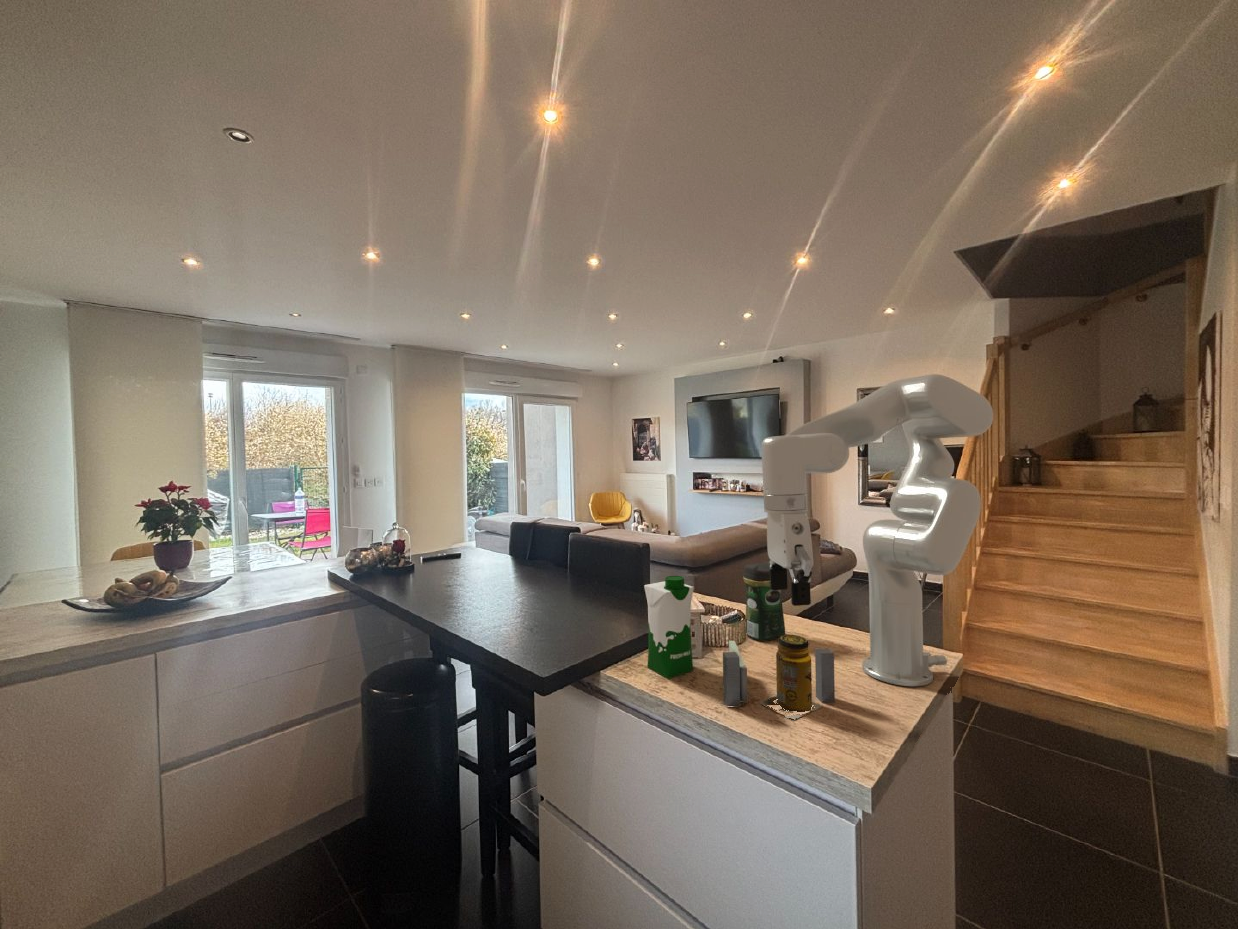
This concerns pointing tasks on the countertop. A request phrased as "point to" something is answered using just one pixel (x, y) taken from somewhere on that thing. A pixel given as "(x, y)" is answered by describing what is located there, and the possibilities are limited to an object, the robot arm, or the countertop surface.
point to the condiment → (793, 676)
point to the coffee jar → (762, 604)
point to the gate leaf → (743, 672)
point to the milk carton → (669, 626)
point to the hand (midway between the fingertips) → (789, 596)
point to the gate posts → (822, 669)
